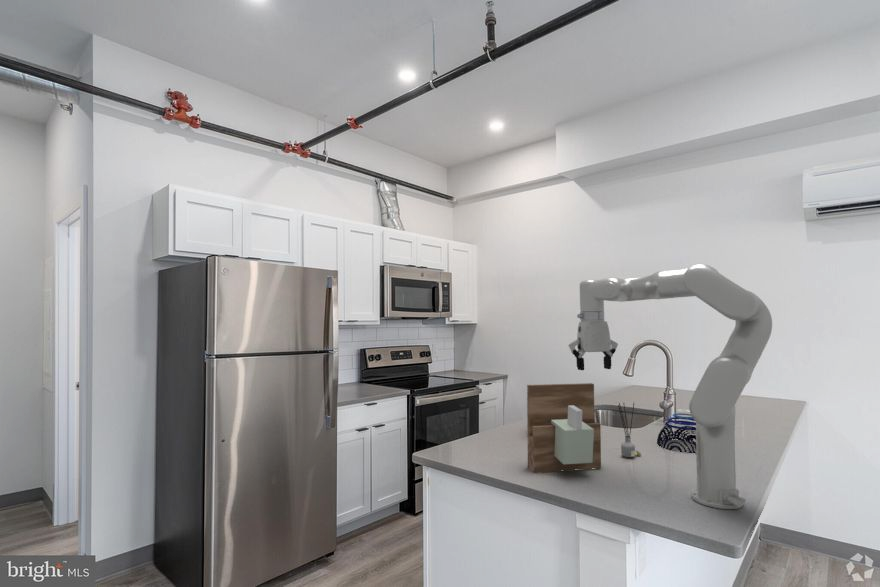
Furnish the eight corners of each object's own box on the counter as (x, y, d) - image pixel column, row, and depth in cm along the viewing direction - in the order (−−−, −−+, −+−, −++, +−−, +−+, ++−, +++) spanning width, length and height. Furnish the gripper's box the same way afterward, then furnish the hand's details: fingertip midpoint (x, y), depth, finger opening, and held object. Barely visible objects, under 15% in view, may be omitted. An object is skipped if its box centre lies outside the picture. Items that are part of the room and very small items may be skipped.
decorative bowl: (721, 447, 189) (720, 410, 190) (704, 457, 175) (703, 418, 176) (668, 437, 203) (668, 403, 204) (649, 446, 189) (648, 410, 190)
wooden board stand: (601, 468, 161) (599, 385, 163) (534, 473, 157) (534, 387, 158) (592, 463, 167) (591, 383, 169) (527, 467, 163) (527, 384, 164)
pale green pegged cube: (592, 462, 153) (594, 410, 152) (563, 464, 152) (565, 412, 151) (576, 450, 164) (578, 401, 163) (549, 451, 162) (551, 402, 161)
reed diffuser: (625, 460, 170) (624, 404, 171) (610, 455, 176) (609, 401, 177) (644, 457, 175) (643, 402, 176) (629, 452, 181) (628, 399, 182)
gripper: (574, 317, 152) (575, 371, 151) (622, 316, 156) (624, 369, 155) (563, 317, 159) (564, 369, 158) (609, 317, 163) (611, 367, 162)
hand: (594, 369), depth 156 cm, fingers open, 9 cm apart
